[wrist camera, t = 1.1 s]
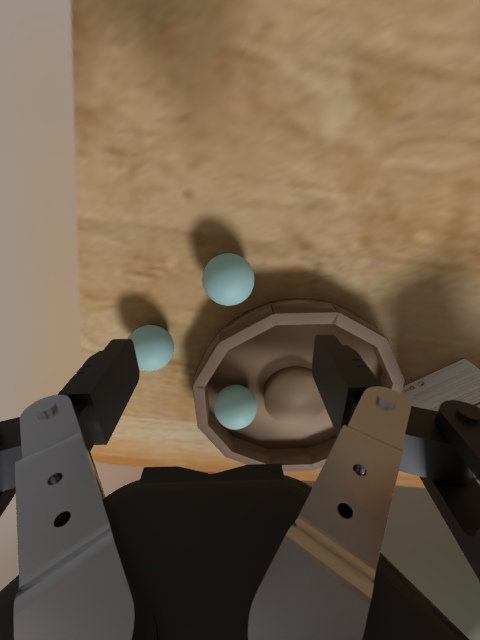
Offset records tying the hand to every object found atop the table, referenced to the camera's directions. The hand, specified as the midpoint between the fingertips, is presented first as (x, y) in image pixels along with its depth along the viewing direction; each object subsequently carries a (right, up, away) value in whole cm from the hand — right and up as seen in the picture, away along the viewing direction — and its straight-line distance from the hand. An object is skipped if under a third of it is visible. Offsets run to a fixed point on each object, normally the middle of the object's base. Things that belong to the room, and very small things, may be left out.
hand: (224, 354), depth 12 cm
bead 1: (-7, -1, +11) cm, 14 cm away
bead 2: (0, +5, +9) cm, 10 cm away
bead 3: (0, -7, +13) cm, 15 cm away
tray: (+6, -5, +16) cm, 18 cm away
